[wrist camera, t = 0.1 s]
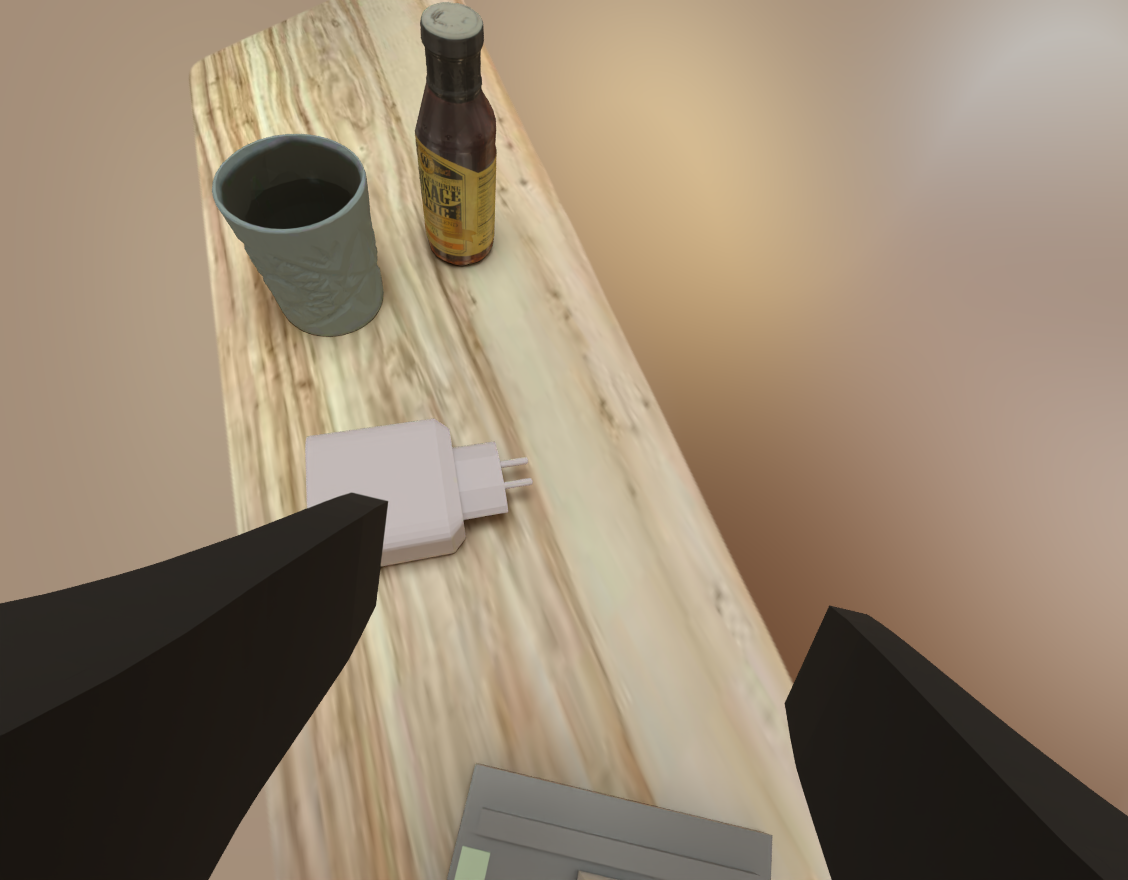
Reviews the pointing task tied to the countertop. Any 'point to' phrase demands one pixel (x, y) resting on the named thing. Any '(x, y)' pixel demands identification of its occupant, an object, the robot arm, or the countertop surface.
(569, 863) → the switch track
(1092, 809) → the robot arm
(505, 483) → the charger
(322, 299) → the grey cup
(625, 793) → the countertop surface
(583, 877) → the slider knob
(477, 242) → the sauce bottle
